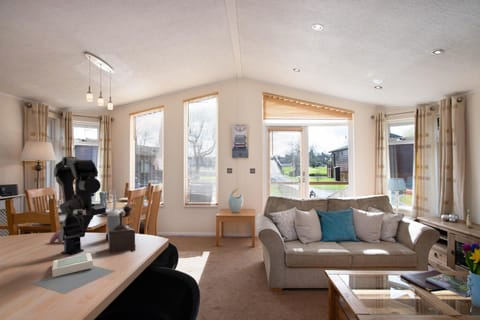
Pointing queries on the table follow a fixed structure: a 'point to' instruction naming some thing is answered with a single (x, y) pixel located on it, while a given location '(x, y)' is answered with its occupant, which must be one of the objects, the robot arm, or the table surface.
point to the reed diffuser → (113, 217)
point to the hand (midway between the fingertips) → (84, 231)
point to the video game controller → (55, 237)
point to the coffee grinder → (122, 235)
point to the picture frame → (72, 264)
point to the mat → (73, 279)
